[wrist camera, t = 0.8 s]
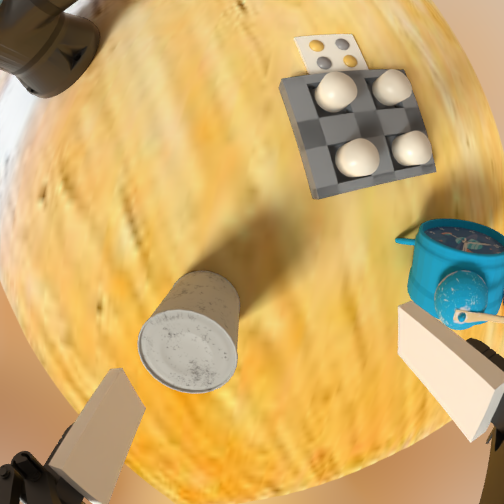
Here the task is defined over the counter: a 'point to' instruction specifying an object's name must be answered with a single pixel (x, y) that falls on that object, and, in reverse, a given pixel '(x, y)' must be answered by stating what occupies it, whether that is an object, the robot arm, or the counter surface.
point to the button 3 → (391, 87)
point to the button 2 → (357, 158)
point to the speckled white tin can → (193, 334)
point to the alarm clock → (457, 272)
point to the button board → (349, 132)
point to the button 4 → (412, 148)
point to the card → (330, 53)
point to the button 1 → (335, 91)
